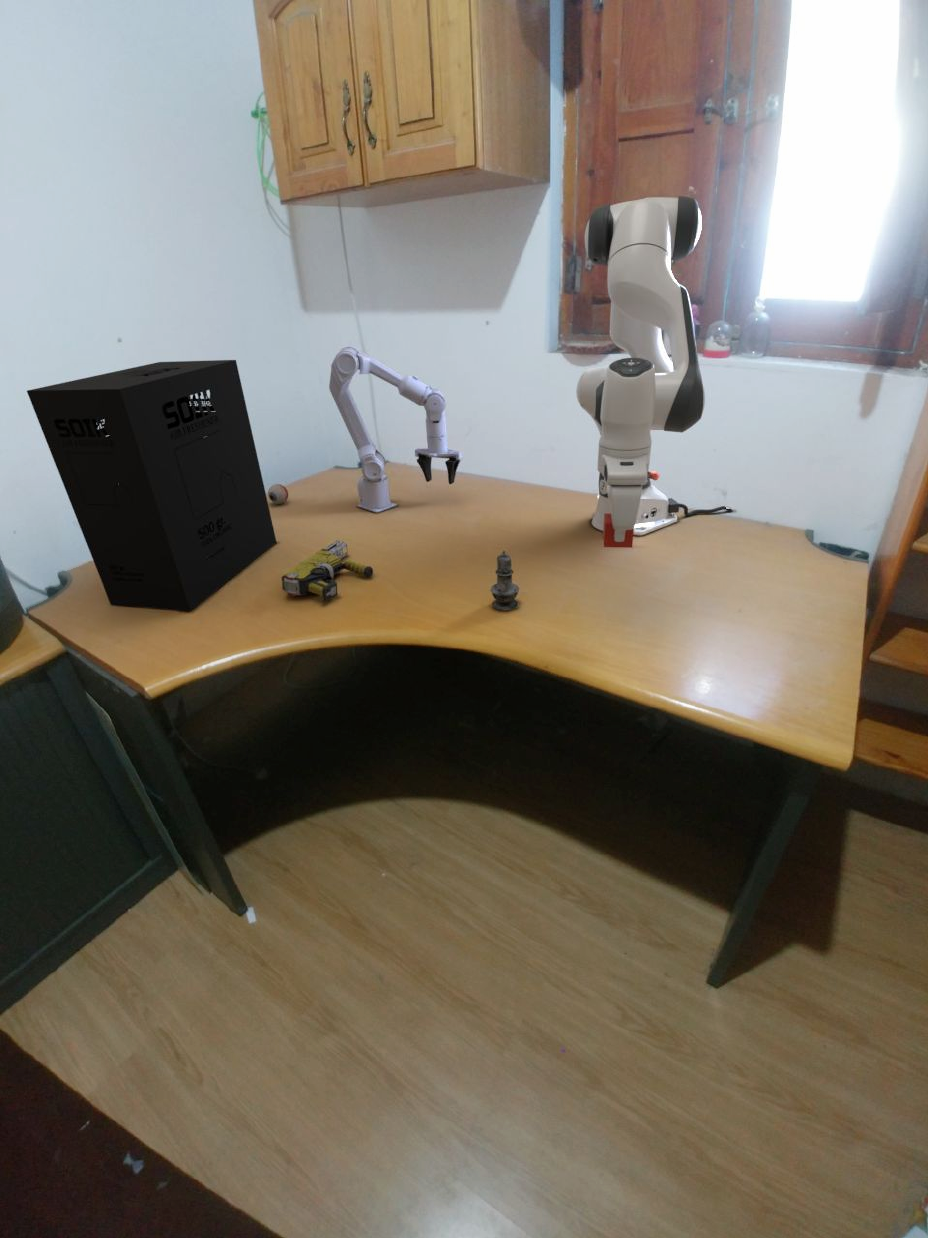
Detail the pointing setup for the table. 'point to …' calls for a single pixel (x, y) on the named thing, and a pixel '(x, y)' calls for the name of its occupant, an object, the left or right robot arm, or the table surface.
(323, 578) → the toy gun
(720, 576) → the table surface
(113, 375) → the cardboard box
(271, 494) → the eyeball
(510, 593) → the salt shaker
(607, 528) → the cube
